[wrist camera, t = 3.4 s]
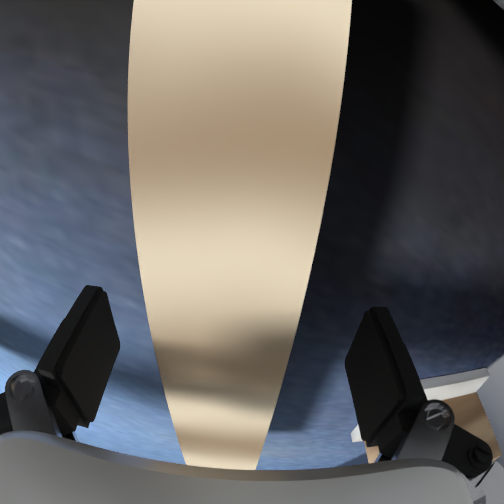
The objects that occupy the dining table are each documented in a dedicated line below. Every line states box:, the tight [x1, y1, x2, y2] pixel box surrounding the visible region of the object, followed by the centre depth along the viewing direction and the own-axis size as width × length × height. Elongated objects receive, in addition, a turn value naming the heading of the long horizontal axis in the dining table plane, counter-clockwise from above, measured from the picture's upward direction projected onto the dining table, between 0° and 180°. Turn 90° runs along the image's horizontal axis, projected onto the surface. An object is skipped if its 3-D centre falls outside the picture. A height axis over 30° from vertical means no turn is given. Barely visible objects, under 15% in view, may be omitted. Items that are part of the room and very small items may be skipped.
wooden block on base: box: [351, 368, 501, 463], centre depth 15 cm, size 7×9×7 cm
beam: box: [128, 0, 352, 470], centre depth 11 cm, size 24×4×4 cm, turn 175°
